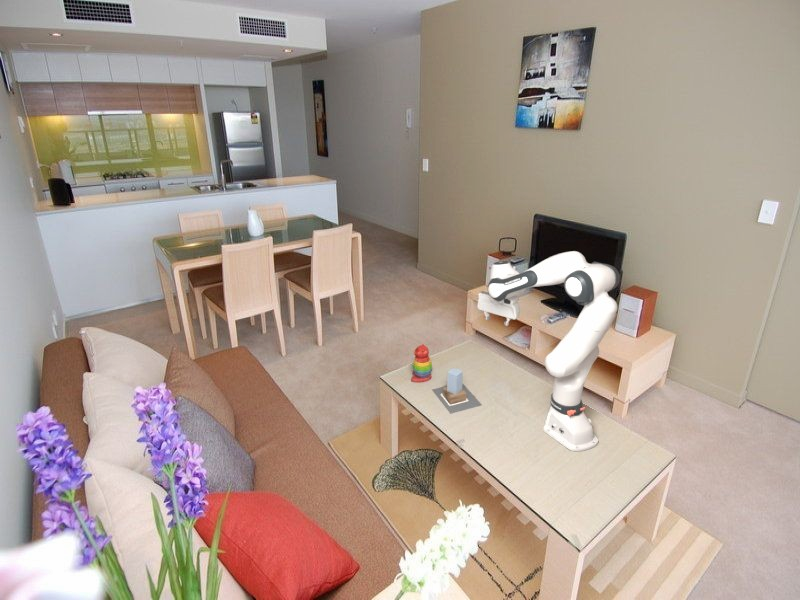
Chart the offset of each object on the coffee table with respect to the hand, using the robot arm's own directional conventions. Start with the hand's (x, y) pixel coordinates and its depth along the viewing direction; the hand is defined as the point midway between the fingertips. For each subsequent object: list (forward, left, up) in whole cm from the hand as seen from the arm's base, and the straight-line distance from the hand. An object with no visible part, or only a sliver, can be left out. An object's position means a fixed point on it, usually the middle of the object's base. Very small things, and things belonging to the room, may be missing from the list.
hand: (497, 322), depth 216 cm
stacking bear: (+15, +32, -31) cm, 47 cm away
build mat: (-7, +24, -31) cm, 40 cm away
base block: (-7, +25, -31) cm, 40 cm away
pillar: (-7, +25, -27) cm, 37 cm away
